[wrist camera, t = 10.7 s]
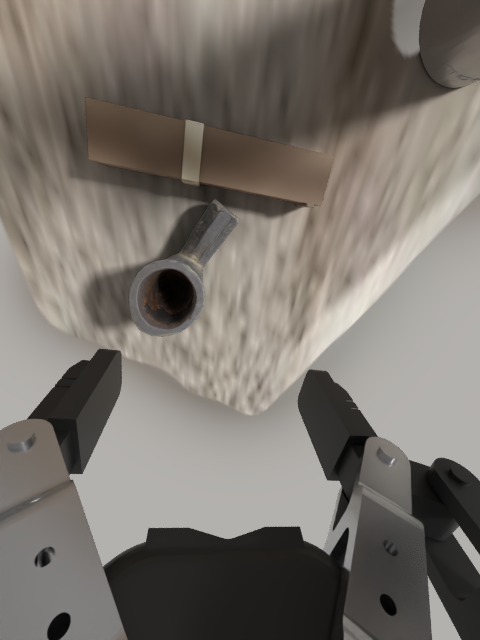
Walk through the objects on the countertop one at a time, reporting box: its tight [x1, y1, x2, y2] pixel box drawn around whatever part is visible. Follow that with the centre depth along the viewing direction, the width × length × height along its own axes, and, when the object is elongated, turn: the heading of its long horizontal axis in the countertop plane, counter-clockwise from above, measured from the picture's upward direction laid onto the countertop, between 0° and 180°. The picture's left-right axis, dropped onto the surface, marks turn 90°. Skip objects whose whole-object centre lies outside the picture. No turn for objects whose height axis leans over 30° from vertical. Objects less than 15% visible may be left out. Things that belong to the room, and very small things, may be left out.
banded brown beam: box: [85, 97, 335, 208], centre depth 23 cm, size 4×20×4 cm, turn 80°
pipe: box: [128, 199, 239, 337], centre depth 24 cm, size 6×13×8 cm, turn 143°
